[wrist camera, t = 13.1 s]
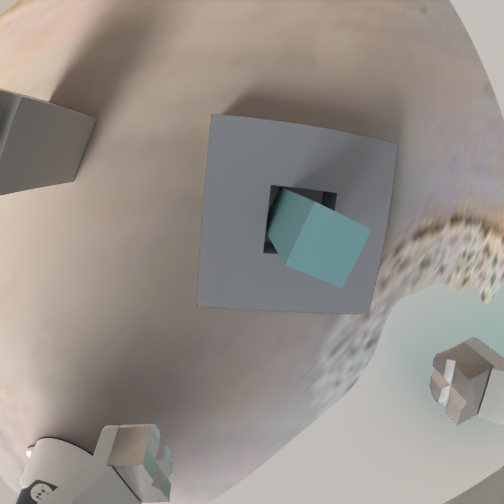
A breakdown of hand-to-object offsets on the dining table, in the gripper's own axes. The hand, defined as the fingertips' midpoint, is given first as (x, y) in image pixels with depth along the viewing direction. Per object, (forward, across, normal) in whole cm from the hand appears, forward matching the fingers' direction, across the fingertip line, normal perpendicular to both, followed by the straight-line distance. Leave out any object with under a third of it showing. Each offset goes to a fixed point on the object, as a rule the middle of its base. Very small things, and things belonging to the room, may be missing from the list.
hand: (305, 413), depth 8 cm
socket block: (+24, -5, -1) cm, 25 cm away
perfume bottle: (+25, +16, -14) cm, 33 cm away
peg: (+23, -5, -1) cm, 24 cm away
